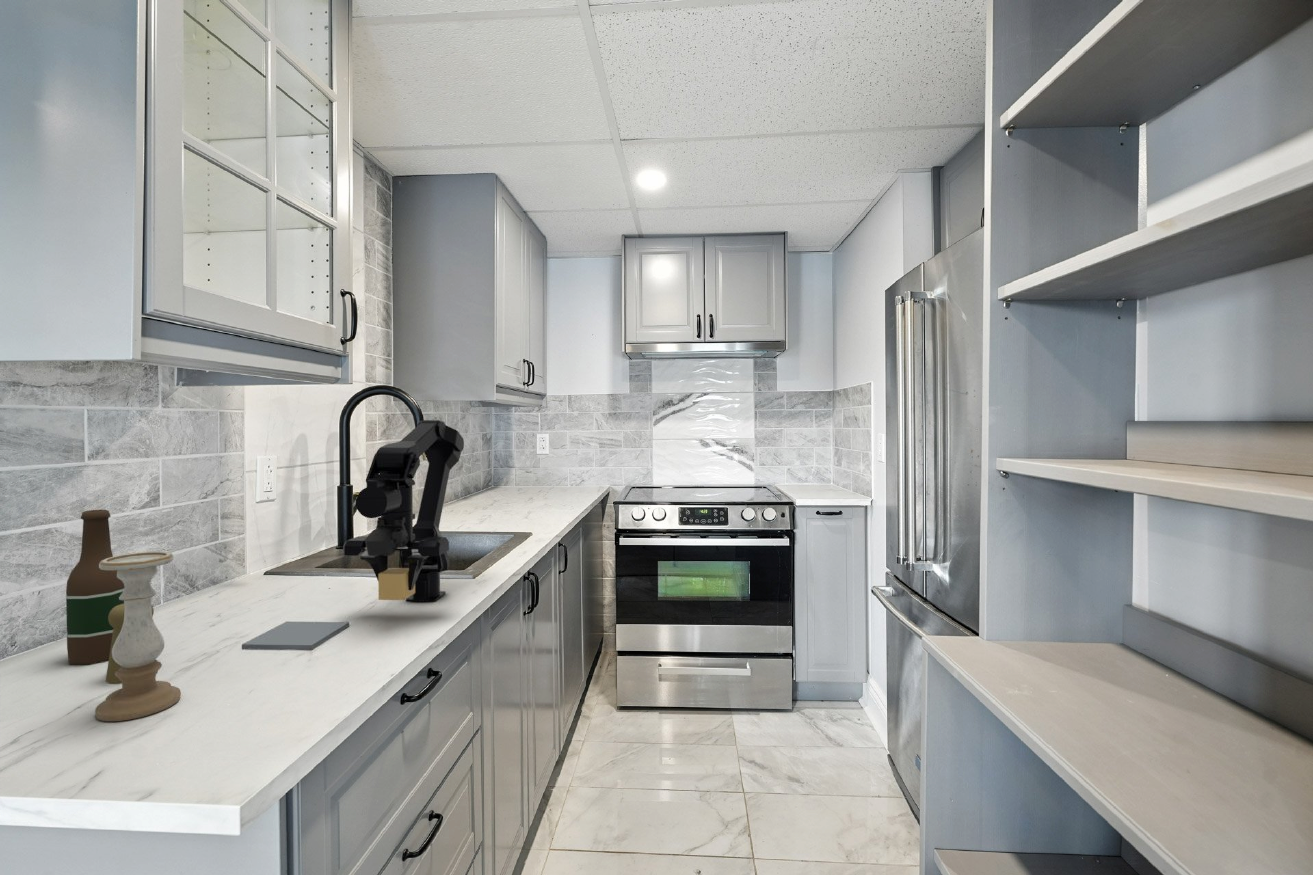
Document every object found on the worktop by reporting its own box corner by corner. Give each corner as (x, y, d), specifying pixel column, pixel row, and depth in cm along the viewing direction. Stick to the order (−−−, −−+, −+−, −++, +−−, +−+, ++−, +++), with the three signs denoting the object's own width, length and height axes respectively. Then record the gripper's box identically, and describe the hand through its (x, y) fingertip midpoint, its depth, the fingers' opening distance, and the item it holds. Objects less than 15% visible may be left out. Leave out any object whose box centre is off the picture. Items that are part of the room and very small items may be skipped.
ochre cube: (390, 592, 122) (390, 567, 122) (415, 592, 122) (415, 568, 121) (378, 599, 117) (378, 573, 117) (404, 600, 117) (404, 574, 116)
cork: (97, 678, 91) (96, 605, 90) (146, 664, 96) (145, 595, 96) (116, 686, 88) (115, 611, 88) (166, 671, 93) (164, 600, 93)
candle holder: (196, 697, 84) (194, 552, 84) (123, 727, 76) (120, 566, 76) (153, 688, 87) (151, 548, 87) (78, 716, 79) (76, 561, 79)
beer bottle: (78, 652, 101) (76, 508, 101) (137, 645, 104) (135, 506, 104) (54, 669, 94) (51, 515, 94) (118, 661, 97) (115, 512, 97)
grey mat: (286, 625, 115) (286, 621, 115) (349, 626, 115) (349, 621, 115) (241, 648, 103) (241, 644, 103) (311, 649, 103) (311, 645, 103)
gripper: (326, 516, 111) (327, 601, 111) (427, 517, 111) (428, 602, 111) (357, 508, 122) (358, 585, 122) (449, 508, 122) (450, 586, 122)
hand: (397, 589), depth 119 cm, fingers closed on ochre cube, 5 cm apart
